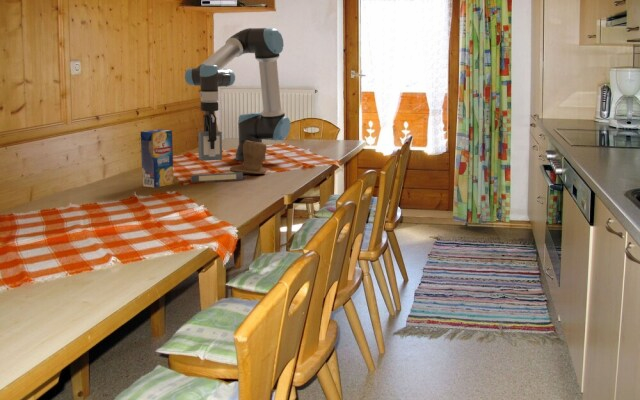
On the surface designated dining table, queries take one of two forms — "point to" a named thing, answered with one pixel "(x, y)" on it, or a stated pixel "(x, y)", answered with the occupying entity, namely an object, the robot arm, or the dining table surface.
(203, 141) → the slate carton
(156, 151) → the blue food box
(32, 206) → the dining table surface
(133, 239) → the dining table surface
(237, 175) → the rail
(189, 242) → the dining table surface
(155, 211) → the dining table surface
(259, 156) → the brown piece
